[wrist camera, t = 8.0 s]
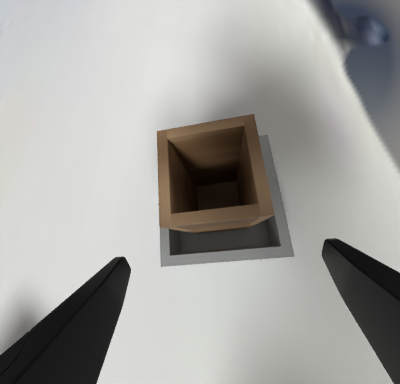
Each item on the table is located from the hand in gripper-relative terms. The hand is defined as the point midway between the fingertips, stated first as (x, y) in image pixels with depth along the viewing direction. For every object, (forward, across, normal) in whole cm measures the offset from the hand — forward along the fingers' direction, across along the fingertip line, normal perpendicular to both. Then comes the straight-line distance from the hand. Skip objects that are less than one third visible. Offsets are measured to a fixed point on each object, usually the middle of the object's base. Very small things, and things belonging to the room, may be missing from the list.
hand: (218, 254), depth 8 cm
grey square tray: (+10, 0, +4) cm, 11 cm away
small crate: (+10, 0, +4) cm, 11 cm away
